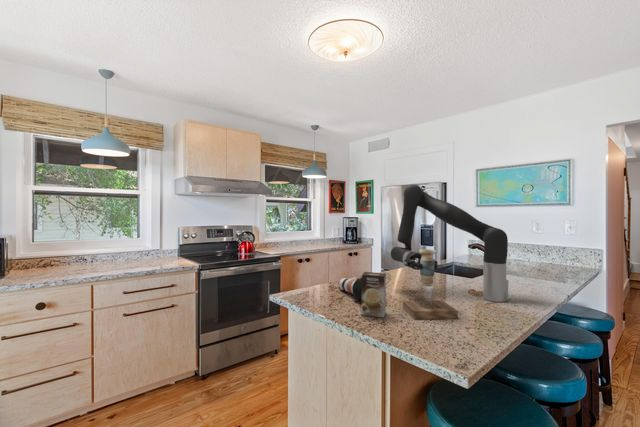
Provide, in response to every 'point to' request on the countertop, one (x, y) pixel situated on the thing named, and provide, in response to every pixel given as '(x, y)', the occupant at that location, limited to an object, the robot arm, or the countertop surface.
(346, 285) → the black white tapered cylinder
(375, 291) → the coffee box
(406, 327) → the countertop surface
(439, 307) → the notched board
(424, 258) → the cord spool
